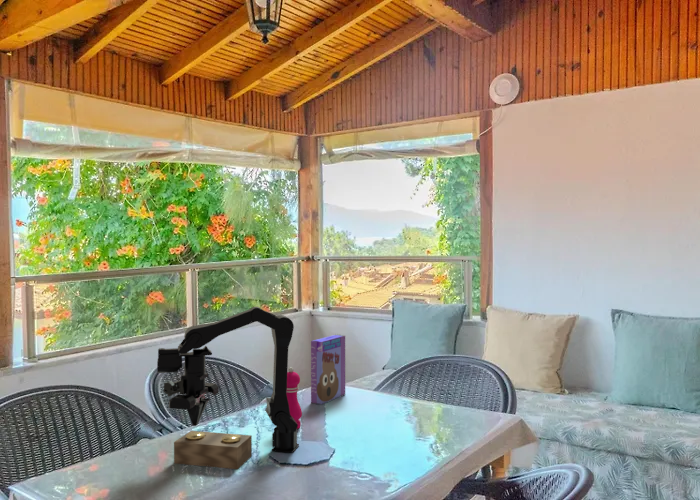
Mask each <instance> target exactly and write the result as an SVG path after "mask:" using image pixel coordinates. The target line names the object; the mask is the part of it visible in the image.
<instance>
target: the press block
mask: <svg viewBox="0 0 700 500" xmlns="http://www.w3.org/2000/svg"><path fill="white" fill-rule="evenodd" d="M190 432H202V431H200V430H190V431H189V432H187V433H186V434H184V435H182V436H181V437H179V438H178V439H176V440H174V441H173V464H175V465H176V464H177V465H179V464H180V465H188V466H201V467H210V468H222V469H229V470H230V469H232V470H238V469H239V468H241V467H242V466H243V465H244V464H245V463H246V462H247V461H248V460H249V459H251V457H252V455H253V452H252V451H253V449H252V447H253V446H252V443H253V439H252V437H253V436H252V435H251V434H250V435H249V434H237V433H235V434H236V435H240V436H241V440H240V441H239V442H237V443H224V442H222V437H223V436H225V435H230V434H231V433H225V432H224V433H223V432H213V431H203V432H204V433H205V438H203V439H200V440H188V439H186V435H187V434H188V433H190Z"/></svg>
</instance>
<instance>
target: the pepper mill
mask: <svg viewBox="0 0 700 500" xmlns="http://www.w3.org/2000/svg"><path fill="white" fill-rule="evenodd" d="M300 382H301V377H300V374H298V373H297V372H296V371H294V368H293V367H292V366H290V367H289V368H287V399H288V403H289V409H290V415H291V416H292V417H293V419H294V420H295V421H296V423H297V424H298V427H297V430H298V429H300V428H301V420H300V419H301V418H302V416H303V412H302V407H301V405H300V403H299V401H298V400H299V399H298V392H299V387H300V386H299V385H300Z"/></svg>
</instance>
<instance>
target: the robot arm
mask: <svg viewBox="0 0 700 500" xmlns="http://www.w3.org/2000/svg"><path fill="white" fill-rule="evenodd" d="M253 323H260V324H262V325H264V326H266V327H268V328H270V329H271V334H272V335H271V336H272V340H273V345H274V346H273V347H274V349H273V350H274V351H273V352H274V353H273V375H272V377H273V379H272V393H271V397H266V398H265V399H266V400H265V402H266V408H265V412H266V414H267V416H268V418H269V420H270V421H271V423H272V424H273V425H274V426H275V427H274V428H273V433H272V434H271V437H272V441H271V442H272V443H271V446H272V448H271V451H272V452H280V453H290V452H292V453H294V452H295V451H296V449H297V448H298V447H299V446H300V444H299V443H298V429H297V427H298V424H297V423H296V421H295V420H294V419H293V417H292V416H291V415H290V409H289V403H288V399H287V372H288V369H289V368H288V367H289V365H288V363H289V362H288V361H289V346H290V343H291V341H292V339H293V338H292V337H293V334H294V327H295V326H294V322H293V320H291V318H289V317H287V316H286V315H285V314H277V315H276V314H273V313H271V312H269V311H266V310H264V309H262V308H261V307H259V306H253V307H251V308H249V309H247V310H244V311H241V312H239V313H236V314H233V315H230V316H228V317H225V318H223V319H220V320H217V321H214V322H210V323H202V324H197V325H193V326H190V327H188V328H187V329H186V330H185V332H184V338H183V339H182V341H181V342H180V343H179V344H178V346H177V347H176V348H160V347H159V348H158V349H157V351H158V353H157V366H156V368H157V369H156V370H157V372H156V373H157V374H167V373H179V370H181V369H183V357H184V374H183V375H181V376H180V380H176V381H174V382H173V381H172V380H170V381H166V382H164V383H163V393H164V394H166V395H167V396H168V397H171V396H172V395H175V394H176V395H175V396H173V397H171V398H170V399H169V401H168V408H169V409H175V410H186V411H187V413H188V416H189V418H190V421H191V424H192V426H193V427H197V426H198V424H199V422H200V421H201V418H202V416H203V413H204V411H205V409H206V407H207V405H208V403H209V401H211V399H210V398H208V397H207V398H206V395H205V394H207V393H210V394H211V395H212V396H215V395H218V394H219V386H218V385H217V383H216V382H215V383H212V382H206V378H208V377H209V373H208V372H206V356H212V355H213V352H212V350H210V348H208V346H207V344H209V343H210V342H212V341H214V339H216V338H217V337H219V336H221V335H224V334H227V333H230V332H233V331H234V330H237V329H240V328H242V327H246V326H248V325H250V324H253ZM202 347H203V348H202ZM178 393H179V394H178ZM293 451H294V452H293Z"/></svg>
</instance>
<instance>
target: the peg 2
mask: <svg viewBox="0 0 700 500" xmlns="http://www.w3.org/2000/svg"><path fill="white" fill-rule="evenodd" d="M229 434H230V435H225V436H223V437H222V442H224V443H237V442H239V441H240V440H241V436H240V435H241V434H239V435H236V434H237V433H235V434H234V433H229Z"/></svg>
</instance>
